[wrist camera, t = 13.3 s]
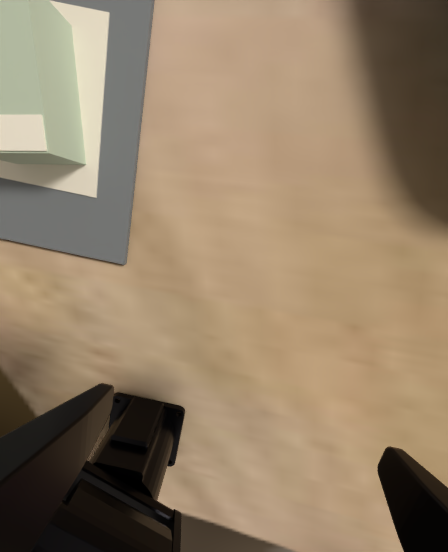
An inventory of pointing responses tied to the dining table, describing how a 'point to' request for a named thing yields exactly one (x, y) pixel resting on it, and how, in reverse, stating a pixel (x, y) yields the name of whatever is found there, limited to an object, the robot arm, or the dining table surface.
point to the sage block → (38, 86)
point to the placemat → (89, 141)
